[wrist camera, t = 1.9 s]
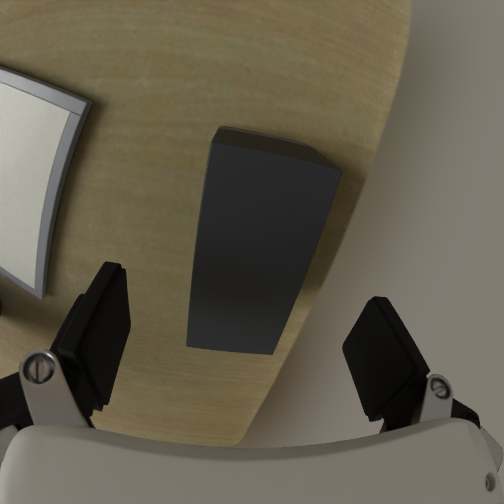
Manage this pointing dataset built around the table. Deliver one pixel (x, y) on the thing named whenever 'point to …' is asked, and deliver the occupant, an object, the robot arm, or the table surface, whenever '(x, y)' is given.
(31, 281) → the whiteboard
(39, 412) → the robot arm
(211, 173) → the whiteboard eraser
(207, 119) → the table surface
